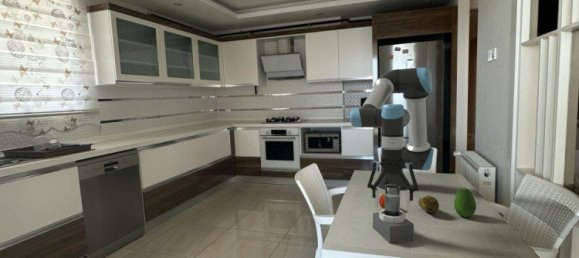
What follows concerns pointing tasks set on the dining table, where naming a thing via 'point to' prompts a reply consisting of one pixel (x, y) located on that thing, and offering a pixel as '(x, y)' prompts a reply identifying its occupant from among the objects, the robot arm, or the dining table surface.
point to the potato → (429, 203)
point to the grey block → (393, 227)
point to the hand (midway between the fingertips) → (392, 207)
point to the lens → (392, 200)
